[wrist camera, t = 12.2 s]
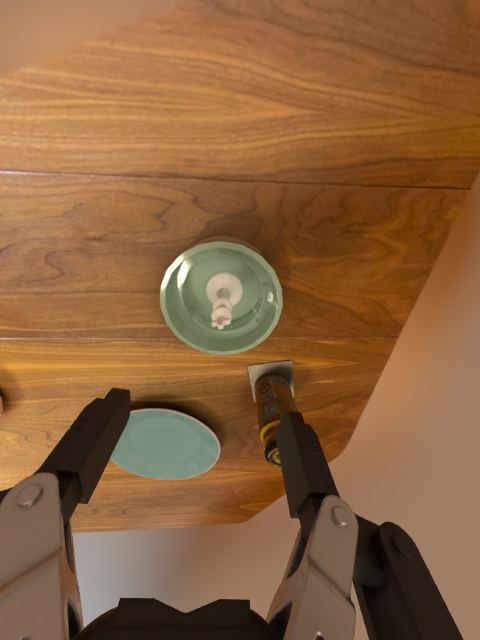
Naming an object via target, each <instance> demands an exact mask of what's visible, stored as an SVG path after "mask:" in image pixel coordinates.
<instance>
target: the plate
mask: <svg viewBox="0 0 480 640" xmlns="http://www.w3.org/2000/svg"><path fill="white" fill-rule="evenodd" d="M220 450H221V449H220V443H219V440H218V438H217V436H216V435H215V434H214V432H213V431H212V430H211V429H210V428H209V427H207V426H206V425H205V424H203V423H202V422H200V421H199V420H197V419H195V418H193V417H191V416H189V415H187V414H184V413H181V412H178V411H175V410H170V409H163V408H144V409H137V410H133V411H131V412H130V417H129V420H128V423H127V425H126V427H125V429H124V431H123V433H122V435H121V437H120V439H119V441H118V443H117V445H116V447H115V449H114V451H113V453H112V455H111V457H110V460H112V461H113V462H114V463H115V464H116V465H118V466H119V467H121V468H122V469H124V470H126V471H128V472H131V473H133V474H136V475H139V476H142V477H147V478H152V479H159V480H181V479H187V478H192V477H195V476H198V475H200V474H203V473H204V472H206V471H208V470H209V469H210V468H211V467H212V466H213V465H214V464H215V463H216V462H217V460H218V458H219V455H220Z"/></svg>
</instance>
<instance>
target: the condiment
mask: <svg viewBox="0 0 480 640" xmlns="http://www.w3.org/2000/svg"><path fill="white" fill-rule="evenodd" d="M248 372H249V377H250V383H251V388H252V394H253V399H254V402H256V407H257V416H258V424H259V434H260V438H261V440H262V441H263V446H264V449H265V452H264V453H265V457H266V459H267V461H268V462H269V463H270V464H272V465H274V466H277V467H281V462H280V456H279V451H278V446H277V440H276V432H277V428H278V426H279V423H280V421H281V419H282V417H283V415H284V413H285V411H293V412H298V411H297V407H296V404H295V401H294V398H293V397H294V386H293V364H292V361H283V362H274V363H265V364H261V365H254V366H248Z"/></svg>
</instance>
